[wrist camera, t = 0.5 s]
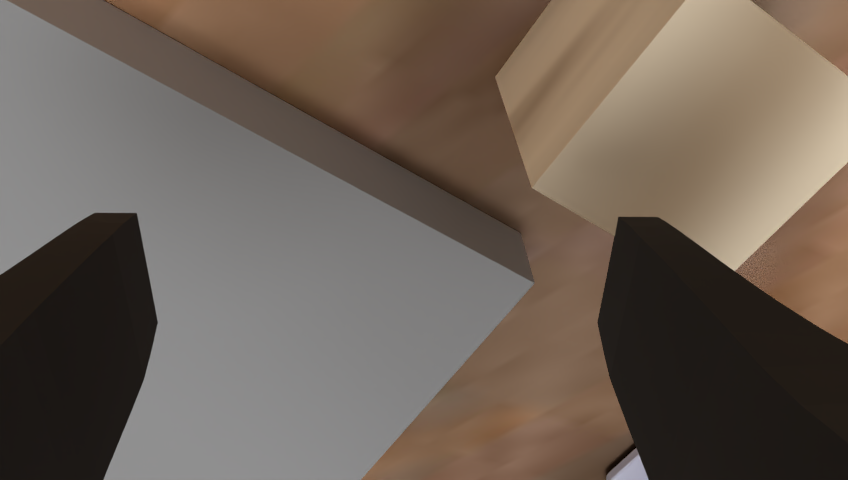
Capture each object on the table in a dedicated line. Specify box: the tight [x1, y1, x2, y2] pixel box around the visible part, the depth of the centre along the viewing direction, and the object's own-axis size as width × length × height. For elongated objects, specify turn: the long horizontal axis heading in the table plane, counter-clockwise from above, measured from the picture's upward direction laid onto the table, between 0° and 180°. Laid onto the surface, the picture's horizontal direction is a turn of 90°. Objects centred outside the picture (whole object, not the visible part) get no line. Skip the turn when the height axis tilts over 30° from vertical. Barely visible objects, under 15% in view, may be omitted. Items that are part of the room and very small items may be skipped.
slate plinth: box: [0, 0, 534, 480], centre depth 23 cm, size 16×16×2 cm
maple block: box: [495, 0, 848, 271], centre depth 18 cm, size 5×5×6 cm
